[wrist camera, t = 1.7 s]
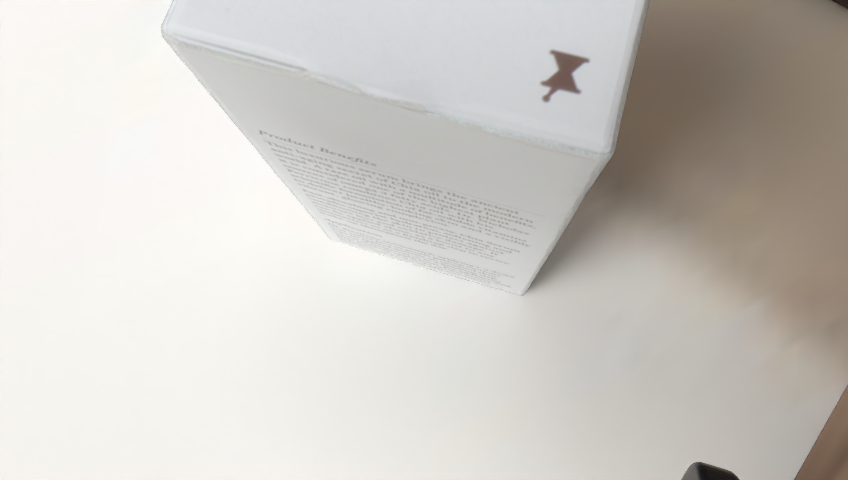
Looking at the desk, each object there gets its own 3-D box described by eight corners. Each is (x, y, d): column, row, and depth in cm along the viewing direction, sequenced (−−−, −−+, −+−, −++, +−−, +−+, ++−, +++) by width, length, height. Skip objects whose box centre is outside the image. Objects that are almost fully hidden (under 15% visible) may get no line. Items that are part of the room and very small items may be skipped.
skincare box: (562, 161, 21) (700, -137, 9) (523, 300, 20) (621, 171, 8) (366, 108, 21) (258, -234, 10) (322, 241, 20) (144, 43, 9)
